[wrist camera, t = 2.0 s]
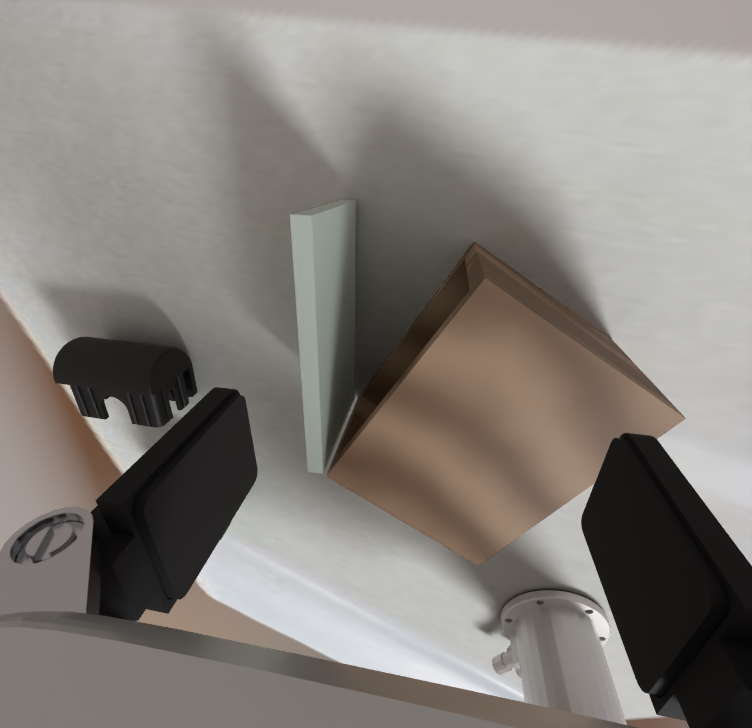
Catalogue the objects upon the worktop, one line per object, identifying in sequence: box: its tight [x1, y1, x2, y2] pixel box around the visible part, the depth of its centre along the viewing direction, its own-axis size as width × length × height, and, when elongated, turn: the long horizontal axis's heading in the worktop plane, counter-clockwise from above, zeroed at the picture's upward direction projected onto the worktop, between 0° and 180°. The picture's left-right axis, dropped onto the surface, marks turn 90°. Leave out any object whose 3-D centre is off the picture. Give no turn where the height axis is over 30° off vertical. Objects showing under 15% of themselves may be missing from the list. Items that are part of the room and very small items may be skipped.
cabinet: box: [327, 242, 686, 566], centre depth 29 cm, size 18×14×11 cm
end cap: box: [53, 337, 197, 427], centre depth 37 cm, size 10×7×7 cm
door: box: [290, 200, 356, 474], centre depth 29 cm, size 18×2×11 cm, turn 178°
